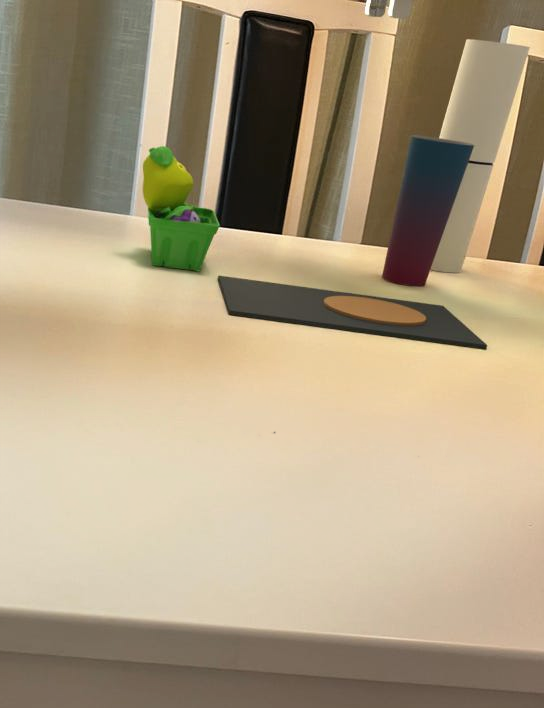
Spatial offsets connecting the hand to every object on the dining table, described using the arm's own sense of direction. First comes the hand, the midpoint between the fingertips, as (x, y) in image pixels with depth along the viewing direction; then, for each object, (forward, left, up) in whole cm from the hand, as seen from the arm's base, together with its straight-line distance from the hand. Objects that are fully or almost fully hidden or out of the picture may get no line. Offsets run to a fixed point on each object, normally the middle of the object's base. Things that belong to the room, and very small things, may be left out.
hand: (385, 17), depth 102 cm
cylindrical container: (-17, -17, -26) cm, 35 cm away
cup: (-10, -3, -26) cm, 28 cm away
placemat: (+1, +19, -25) cm, 32 cm away
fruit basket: (+18, +4, -26) cm, 32 cm away
